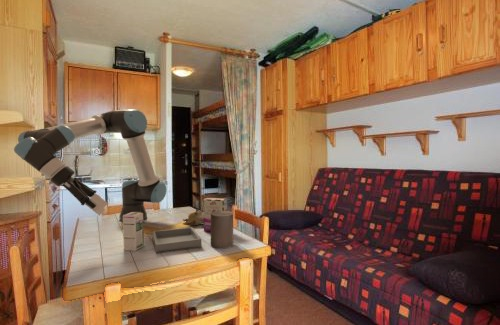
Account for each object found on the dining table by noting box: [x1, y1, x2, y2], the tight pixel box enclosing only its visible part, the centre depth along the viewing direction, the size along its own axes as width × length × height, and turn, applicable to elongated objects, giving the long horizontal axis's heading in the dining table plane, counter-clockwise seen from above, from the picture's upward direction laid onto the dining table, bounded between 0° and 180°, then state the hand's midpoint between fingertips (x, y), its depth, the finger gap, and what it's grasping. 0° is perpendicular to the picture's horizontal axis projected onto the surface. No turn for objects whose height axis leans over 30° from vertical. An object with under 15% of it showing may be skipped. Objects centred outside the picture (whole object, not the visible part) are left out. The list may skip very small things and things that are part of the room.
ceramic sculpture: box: [182, 209, 204, 227], centre depth 153 cm, size 11×9×15 cm
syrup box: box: [122, 212, 145, 252], centre depth 115 cm, size 6×6×14 cm
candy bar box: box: [203, 197, 228, 233], centre depth 140 cm, size 11×5×16 cm, turn 71°
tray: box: [152, 226, 202, 254], centre depth 122 cm, size 20×18×4 cm
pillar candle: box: [210, 210, 234, 249], centre depth 120 cm, size 10×10×15 cm
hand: (104, 209), depth 111 cm, fingers open, 13 cm apart
